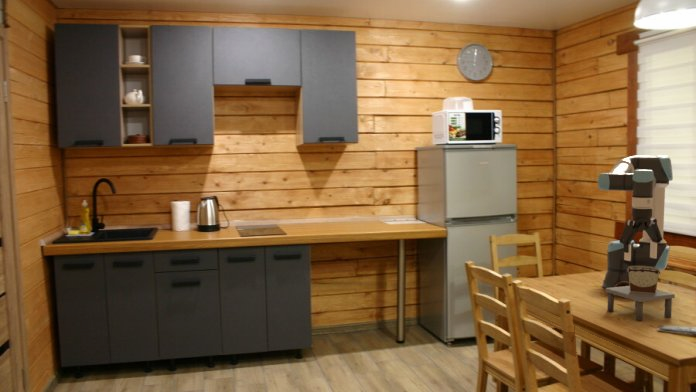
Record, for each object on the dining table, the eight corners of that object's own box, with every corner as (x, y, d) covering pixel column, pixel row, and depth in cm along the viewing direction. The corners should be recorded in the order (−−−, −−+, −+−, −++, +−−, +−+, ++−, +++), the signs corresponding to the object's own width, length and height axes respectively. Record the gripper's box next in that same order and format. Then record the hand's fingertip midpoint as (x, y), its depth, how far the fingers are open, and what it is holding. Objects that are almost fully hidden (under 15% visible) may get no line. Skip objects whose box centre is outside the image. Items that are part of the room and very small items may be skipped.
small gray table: (638, 306, 253) (638, 284, 252) (673, 317, 236) (674, 294, 235) (604, 310, 247) (605, 288, 246) (639, 322, 230) (639, 298, 229)
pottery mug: (642, 300, 264) (636, 286, 262) (622, 309, 266) (616, 294, 264) (631, 288, 276) (625, 273, 273) (612, 296, 277) (606, 282, 275)
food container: (658, 290, 241) (659, 266, 240) (659, 294, 235) (660, 269, 235) (625, 288, 246) (625, 264, 245) (626, 291, 240) (626, 267, 239)
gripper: (625, 210, 230) (623, 263, 232) (673, 207, 238) (671, 258, 240) (610, 208, 237) (609, 259, 239) (657, 205, 245) (656, 255, 247)
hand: (640, 259), depth 240 cm, fingers open, 13 cm apart
